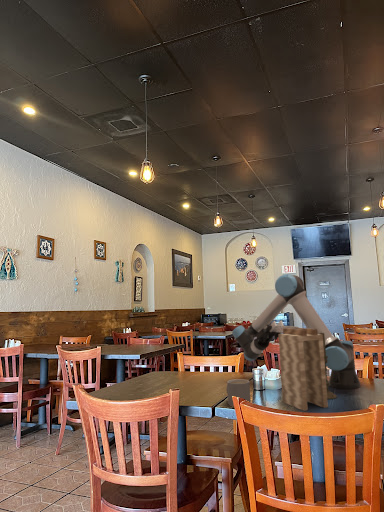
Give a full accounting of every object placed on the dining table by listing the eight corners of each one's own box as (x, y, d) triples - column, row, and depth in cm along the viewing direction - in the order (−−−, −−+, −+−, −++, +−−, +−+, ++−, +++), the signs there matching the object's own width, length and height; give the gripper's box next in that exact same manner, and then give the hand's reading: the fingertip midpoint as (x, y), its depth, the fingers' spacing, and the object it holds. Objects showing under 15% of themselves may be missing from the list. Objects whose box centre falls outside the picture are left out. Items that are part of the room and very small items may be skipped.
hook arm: (267, 331, 197) (266, 324, 197) (273, 331, 198) (272, 324, 198) (292, 334, 175) (292, 326, 175) (299, 334, 176) (298, 326, 177)
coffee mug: (254, 405, 170) (253, 382, 171) (234, 408, 167) (232, 384, 168) (241, 399, 183) (239, 377, 184) (221, 401, 179) (220, 379, 181)
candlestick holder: (320, 393, 187) (316, 330, 191) (339, 396, 181) (334, 330, 185) (313, 397, 180) (308, 331, 184) (333, 400, 174) (327, 332, 178)
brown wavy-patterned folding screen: (282, 401, 175) (278, 328, 179) (305, 398, 179) (300, 327, 183) (303, 410, 160) (298, 330, 164) (328, 407, 164) (322, 329, 167)
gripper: (275, 349, 208) (295, 329, 190) (248, 351, 203) (266, 331, 185) (271, 336, 212) (290, 315, 194) (244, 338, 207) (261, 317, 189)
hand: (278, 323), depth 190 cm, fingers closed on hook arm, 3 cm apart
